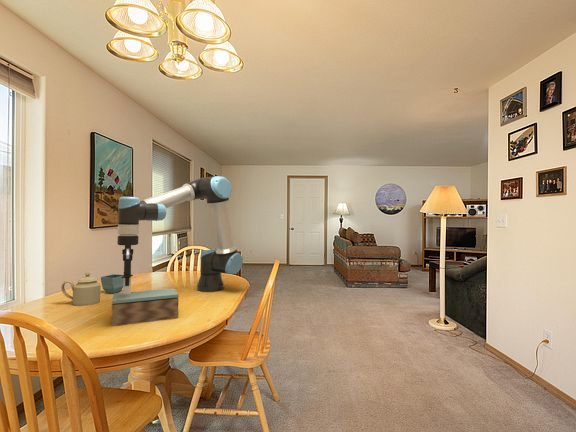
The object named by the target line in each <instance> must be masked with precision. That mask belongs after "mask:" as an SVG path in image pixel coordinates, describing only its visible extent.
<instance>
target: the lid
mask: <svg viewBox="0 0 576 432" xmlns="http://www.w3.org/2000/svg"><path fill="white" fill-rule="evenodd" d="M177 297H178V298H179V293H178V292H177V290H176V289H175V288H174V287H173V288H164V289H151V290H139V291H131V294H123V292H117V293H113V295H112V299H111V305H112V304H116V303H126V302H136V301H146V300H157V299H167V298H177Z"/></svg>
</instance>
